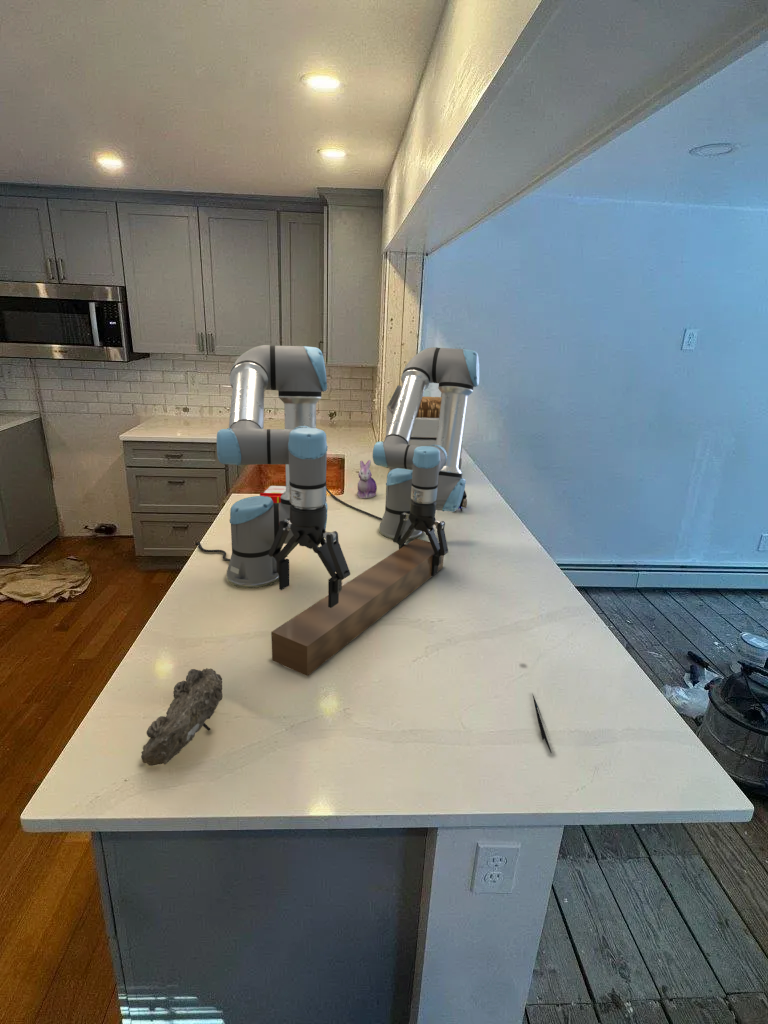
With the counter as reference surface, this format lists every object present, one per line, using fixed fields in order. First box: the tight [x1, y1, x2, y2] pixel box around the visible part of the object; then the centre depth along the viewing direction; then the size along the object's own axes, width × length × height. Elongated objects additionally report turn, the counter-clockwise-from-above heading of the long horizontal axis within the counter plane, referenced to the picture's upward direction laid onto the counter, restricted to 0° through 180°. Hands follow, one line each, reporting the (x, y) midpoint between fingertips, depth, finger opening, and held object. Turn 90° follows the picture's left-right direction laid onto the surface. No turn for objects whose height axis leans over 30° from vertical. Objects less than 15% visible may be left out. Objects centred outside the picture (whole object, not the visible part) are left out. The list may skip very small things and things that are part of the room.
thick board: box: [270, 538, 445, 677], centre depth 149 cm, size 66×10×7 cm, turn 149°
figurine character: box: [457, 490, 468, 512], centre depth 228 cm, size 7×8×15 cm
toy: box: [259, 485, 286, 503], centre depth 208 cm, size 12×13×30 cm
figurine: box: [356, 459, 378, 499], centre depth 236 cm, size 9×10×15 cm
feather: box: [522, 663, 555, 753], centre depth 115 cm, size 2×28×2 cm
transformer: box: [385, 384, 466, 472], centre depth 268 cm, size 34×33×41 cm
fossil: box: [140, 667, 224, 767], centre depth 103 cm, size 22×10×15 cm
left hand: (308, 596), depth 124 cm, fingers open, 13 cm apart
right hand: (418, 569), depth 172 cm, fingers closed on thick board, 10 cm apart
